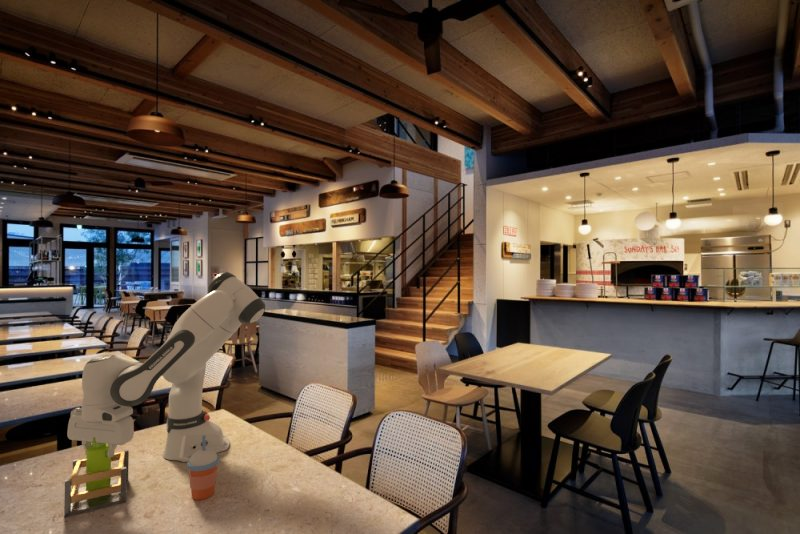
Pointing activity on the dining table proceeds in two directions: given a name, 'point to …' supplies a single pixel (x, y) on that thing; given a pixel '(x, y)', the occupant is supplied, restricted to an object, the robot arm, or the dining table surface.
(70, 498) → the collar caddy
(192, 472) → the cup with straw
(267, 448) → the dining table surface
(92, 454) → the soap dispenser
